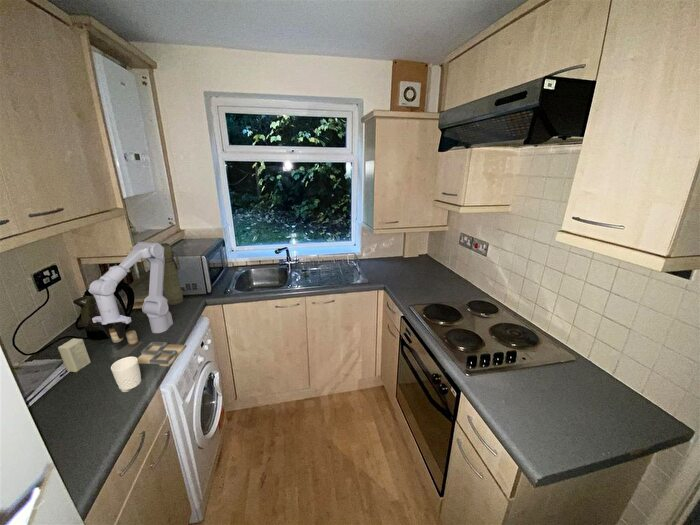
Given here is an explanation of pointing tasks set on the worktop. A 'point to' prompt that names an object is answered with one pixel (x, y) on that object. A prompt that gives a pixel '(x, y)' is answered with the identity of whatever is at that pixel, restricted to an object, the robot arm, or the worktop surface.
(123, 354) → the pad
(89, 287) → the robot arm
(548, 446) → the worktop surface
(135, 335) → the sleeve band down
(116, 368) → the white cup
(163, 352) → the socket board
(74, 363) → the skincare box
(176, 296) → the thermos
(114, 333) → the sleeve band up
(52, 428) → the worktop surface
